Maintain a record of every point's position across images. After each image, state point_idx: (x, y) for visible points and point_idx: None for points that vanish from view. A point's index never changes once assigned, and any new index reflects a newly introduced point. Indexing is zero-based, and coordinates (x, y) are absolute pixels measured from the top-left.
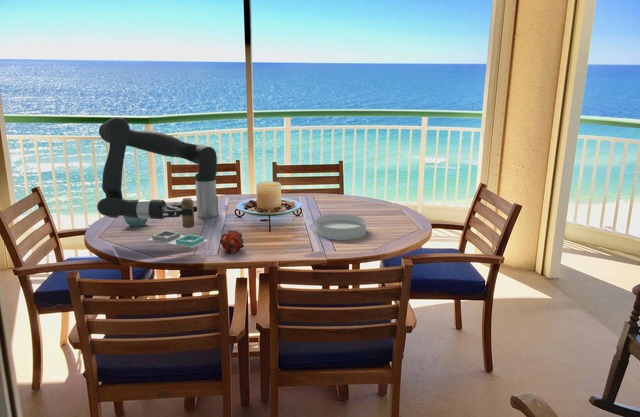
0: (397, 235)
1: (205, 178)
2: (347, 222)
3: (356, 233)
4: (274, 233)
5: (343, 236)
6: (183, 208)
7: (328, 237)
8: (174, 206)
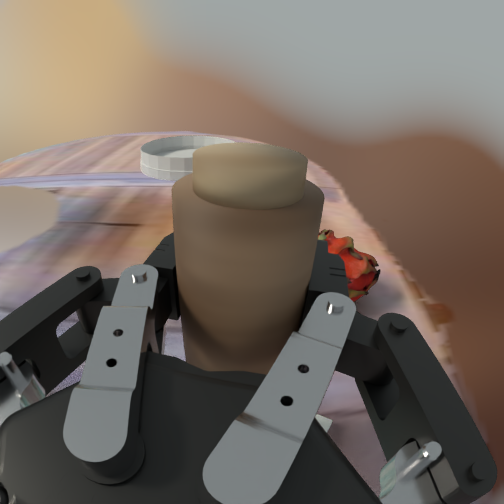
0: None
1: None
2: (155, 154)
3: None
4: (159, 220)
5: None
6: (305, 284)
7: None
8: (140, 396)
